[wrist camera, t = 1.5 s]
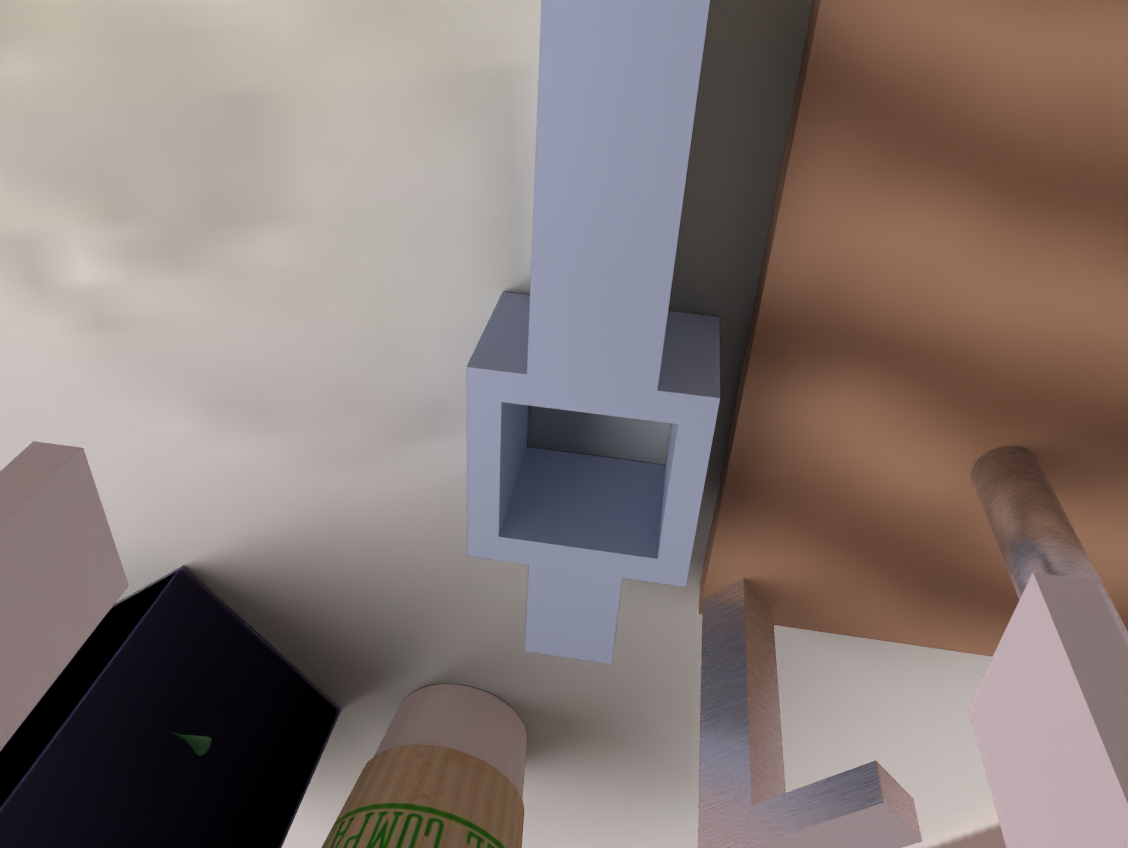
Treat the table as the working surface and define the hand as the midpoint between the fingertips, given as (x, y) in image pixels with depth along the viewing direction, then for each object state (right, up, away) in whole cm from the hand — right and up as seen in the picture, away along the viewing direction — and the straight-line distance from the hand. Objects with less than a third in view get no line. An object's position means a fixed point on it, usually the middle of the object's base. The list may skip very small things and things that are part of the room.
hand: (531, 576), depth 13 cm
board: (+16, +4, +15) cm, 22 cm away
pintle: (+15, +1, +17) cm, 22 cm away
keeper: (+9, -2, +20) cm, 22 cm away
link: (+2, +6, +16) cm, 17 cm away
